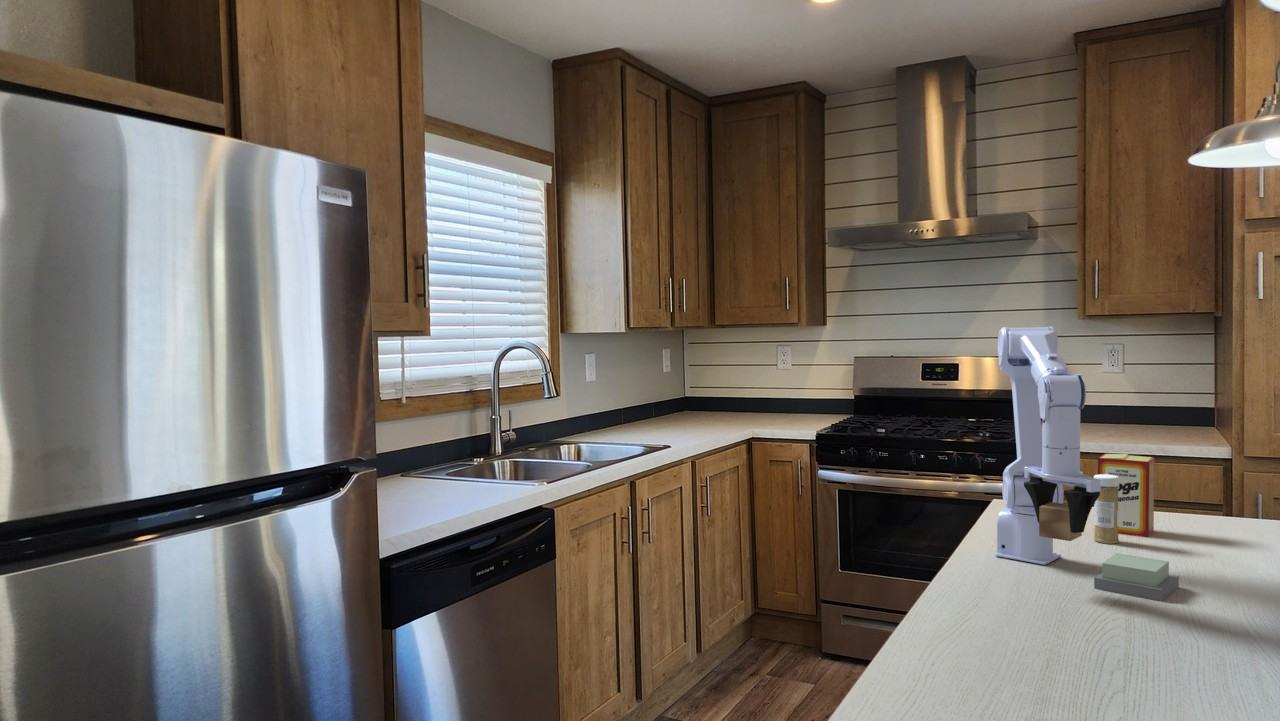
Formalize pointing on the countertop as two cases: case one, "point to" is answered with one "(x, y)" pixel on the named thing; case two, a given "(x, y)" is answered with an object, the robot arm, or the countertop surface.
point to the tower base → (1138, 587)
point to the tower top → (1135, 569)
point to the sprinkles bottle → (1107, 510)
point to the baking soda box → (1132, 491)
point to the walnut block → (1056, 522)
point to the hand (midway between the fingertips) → (1060, 527)
